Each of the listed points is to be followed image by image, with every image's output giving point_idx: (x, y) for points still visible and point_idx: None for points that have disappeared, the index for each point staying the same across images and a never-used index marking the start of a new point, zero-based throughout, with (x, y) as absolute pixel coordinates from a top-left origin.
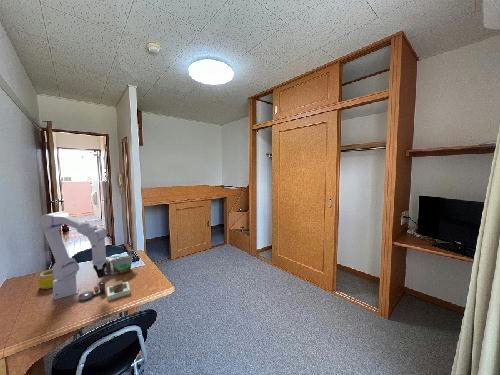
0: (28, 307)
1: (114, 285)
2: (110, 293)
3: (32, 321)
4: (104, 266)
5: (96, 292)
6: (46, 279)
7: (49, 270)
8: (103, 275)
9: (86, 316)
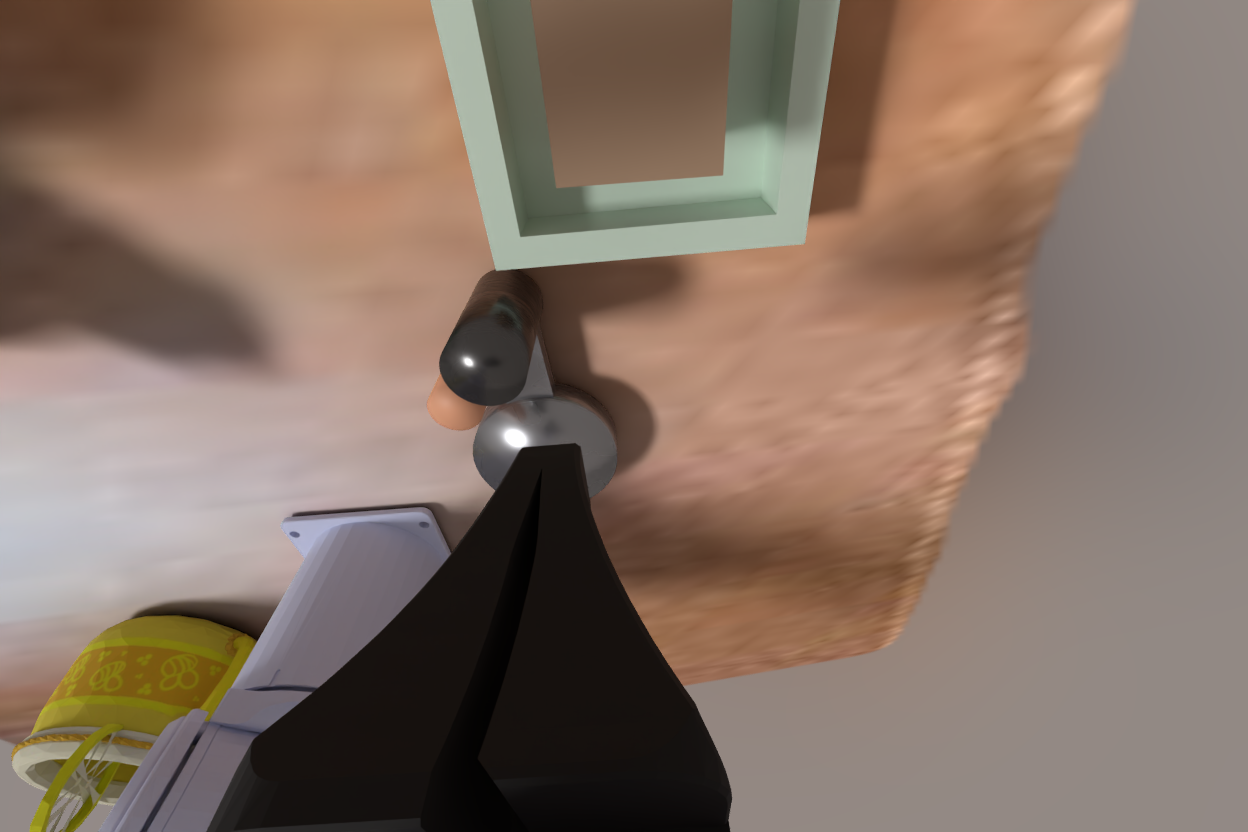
0: None
1: (716, 160)
2: (612, 199)
3: (706, 628)
4: (706, 741)
5: (541, 373)
6: None
7: (71, 789)
8: (578, 464)
9: (935, 394)
